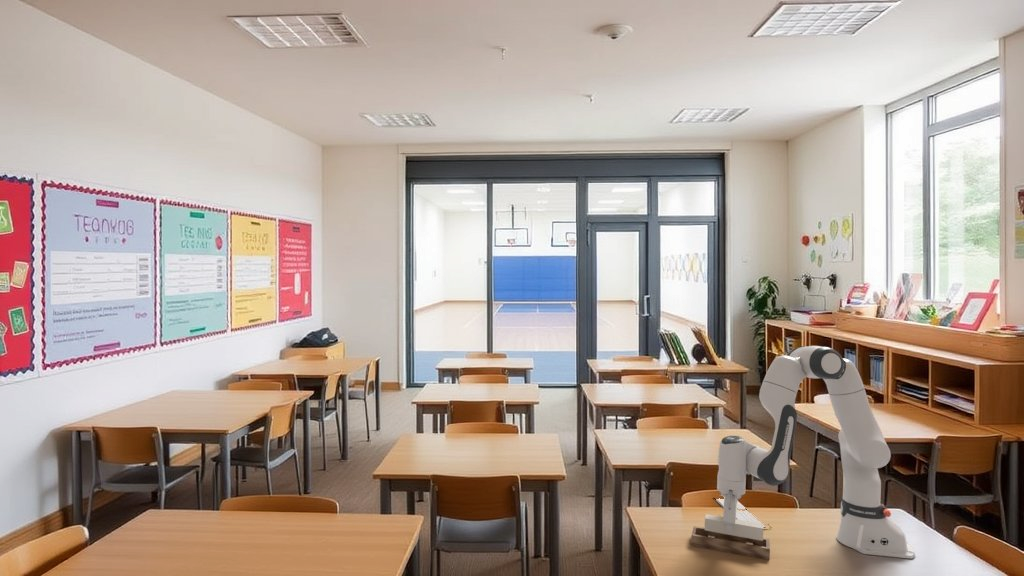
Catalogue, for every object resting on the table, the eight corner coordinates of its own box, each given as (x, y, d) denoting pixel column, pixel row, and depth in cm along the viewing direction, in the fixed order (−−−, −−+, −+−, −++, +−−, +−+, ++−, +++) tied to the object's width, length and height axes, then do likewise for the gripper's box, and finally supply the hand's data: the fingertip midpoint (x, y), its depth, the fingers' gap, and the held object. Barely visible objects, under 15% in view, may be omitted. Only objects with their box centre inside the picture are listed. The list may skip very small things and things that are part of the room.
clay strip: (762, 535, 194) (763, 523, 194) (762, 540, 191) (763, 528, 191) (705, 525, 201) (705, 514, 201) (704, 530, 198) (704, 518, 197)
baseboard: (736, 499, 242) (712, 499, 241) (737, 492, 242) (713, 492, 241) (772, 531, 212) (745, 531, 211) (773, 523, 212) (745, 523, 211)
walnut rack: (768, 549, 195) (769, 538, 195) (769, 559, 188) (769, 549, 188) (693, 536, 205) (693, 525, 204) (691, 545, 197) (691, 535, 197)
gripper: (740, 497, 185) (739, 541, 186) (742, 478, 204) (740, 517, 204) (719, 494, 188) (717, 537, 188) (722, 475, 207) (721, 514, 207)
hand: (729, 527), depth 196 cm, fingers closed on clay strip, 4 cm apart
